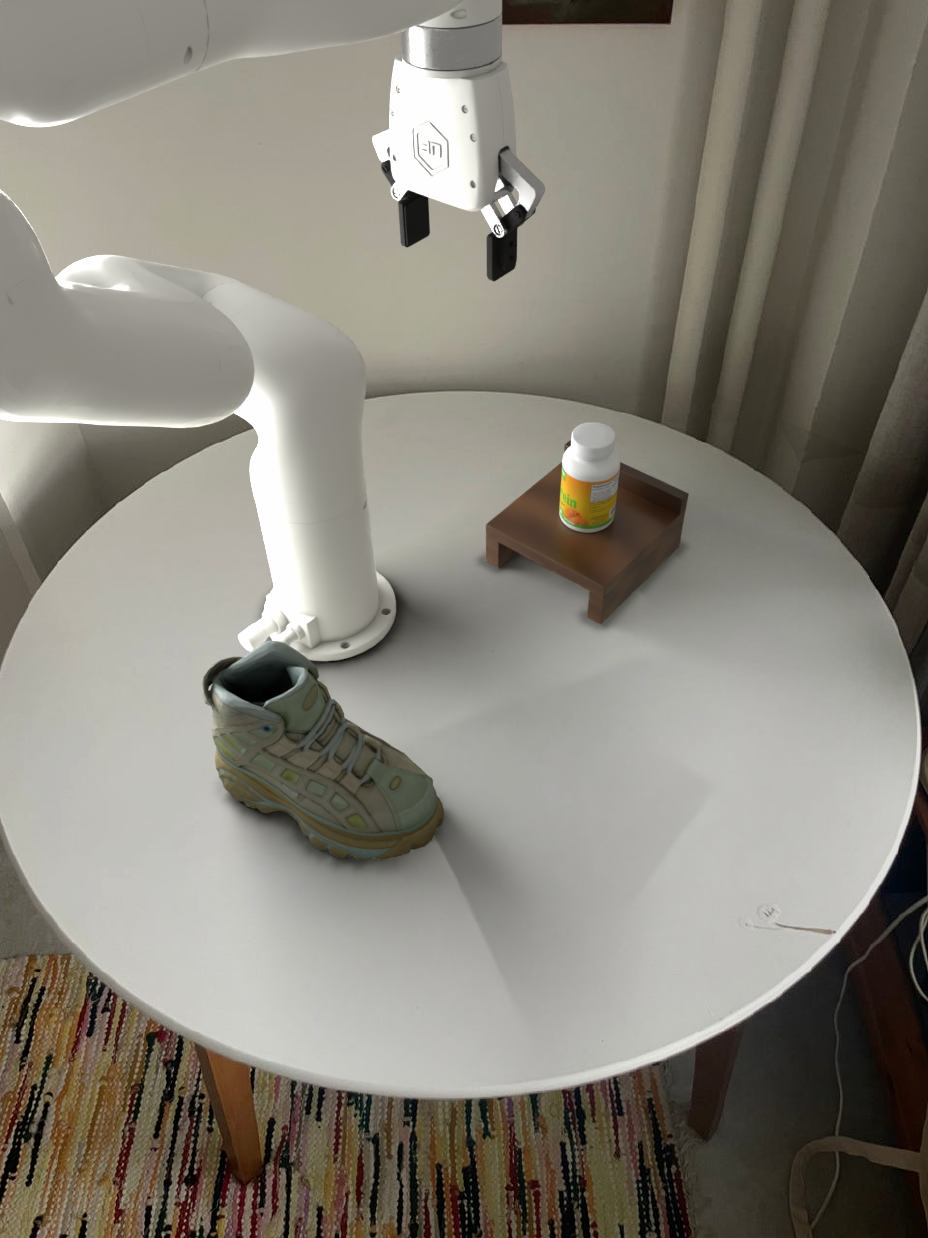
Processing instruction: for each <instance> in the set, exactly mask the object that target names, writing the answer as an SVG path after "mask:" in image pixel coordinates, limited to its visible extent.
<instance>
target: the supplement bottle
mask: <svg viewBox="0 0 928 1238" xmlns="http://www.w3.org/2000/svg"><path fill="white" fill-rule="evenodd" d="M570 437H571V438H570V440H571V446H570V447H569V448H568V449H567V450H566V451H565V453H564V452H563V455H562V461H561V462H562V477H561V492H560V507H559V514H560V518H561V520H562V522H563V523H564V524H565V525H566V526H568V527H569V528H571V529H573V530H576V531H579V532H585V533H591V532H597V531H600V530H603V529H605V528H606V527H608V526H609V525H610V524H611V522H612V521H613V519H614V514H615V507H616V498H617V489H618V480H619V471H620V462H621V457H620V454H619V453H618V452H619V451H617V450H616V449H615V447H616V433H615V430H614V429H612V428H611V427H610V426H609V425H607V424H604V423H601V422H597V421H596V422H595V421H594V422H593V421H589V422H584V423H581V424H578V425H577V426H576V427H575V428H573V430H572V432H571V436H570Z"/></svg>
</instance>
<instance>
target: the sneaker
mask: <svg viewBox="0 0 928 1238" xmlns="http://www.w3.org/2000/svg"><path fill="white" fill-rule="evenodd" d="M319 678H320V673H319V669H318V667H317V666H316V665H315V664H314V663H313V662H312V661H311V660H308V659H307V658H306V657H305V656H304V655H302V654H301V653H300V652H298V651H297V650H295V649H294V648H292V647H291V646H289V645H288V644H286V643H283V642H280V641H276V640H272V639H271V640H268V641H267V640H266V641H264V642H263V643H262V644H260V645H259V646H258V647H257V648H255V649H254V650H253V651H251V652H250V651H249V653H247V654H246V655H244V656H231V657H227V658H222V659H220V660H218V661H216V662H214V663H213V664H212V665H211V666H210V668H209V669H207V671H206V673H205V674H204V675H203V677H202V681H201V685H202V698H203V701H204V704H205V705H207V706H209V707H211V711H212V714H211V716H212V717H211V718H212V728H211V733H212V734H211V735H212V739H213V743H214V745H215V756H214V757H215V758H214V764H215V769H216V771H217V772H218V777H219V779H220V781H221V783H222V786H223V788H224V789H225V791H227V792H229V793H230V795H231V797H232V798H233V799H234V800H235V801H236V802H243V803H244V804H245V806H246V807H248V808H251V809H254V810H256V809H257V810H258V811H259V812H260V813H262V814H263V813H264V814H270V813H273V812H280V811H281V812H284V813H286V814H288V815H289V816H290V817H291V818H293V820H295V822H297V824H298V827H299V829H300V831H301V834H302V836H303V837H304V838H307V839H309V842H310V844H311V846H312V847H313V848H315V849H317V850H319V851H320V852H322V851H328V852H329V854H331V856H333V857H336V858H339V859H348V858H349V857H350V856H351V857H353V858H354V859H355V860H356V862H367V861H370V860H374V859H375V860H378V861H385V860H390V859H394V858H398V857H399V858H400V857H402V856H405V855H408V854H409V853H410V852H411V850H417V849H421V848H424V847H425V846H427V845H429V843H430V842H432V841H433V839H435V836H436V835H437V832H438V829H439V828H440V827H441V826H442V824H443V823H444V822H443V821H444V819H445V818H444V817H445V808H444V805H443V802H442V800H441V798H440V797H439V796H438V794H437V791H436V789H435V786H434V779H433V778H432V777H431V775H428V774H427V773H426V772H425V771H424V770H423V769H422V768H421V767H420V766H419V765H418V764H416V762H414V761H413V760H412V759H411V758H410V757H409V756H408V755H407V754H406V753H405V752H403V750H402V751H401V750H400V749H398V748H396V747H394V746H392V745H391V744H390V743H388V742H387V741H385V740H384V739H382V738H381V737H378V736H376V735H374V734H372V733H370V732H368V731H367V730H365V729H363V728H362V727H361V726H359V725H357V724H356V723H354V722H352V720H349V719H348V718H346V717H345V712H344V710H343V707H342V706H341V705H340V703H339V702H338V701H337V700H336V699H335V698H332V696H331V694H330V691H329V689H328V687H327V685H325V683H323V681H321V680H319ZM209 688H210V689H209Z"/></svg>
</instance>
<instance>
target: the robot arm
mask: <svg viewBox="0 0 928 1238" xmlns="http://www.w3.org/2000/svg"><path fill="white" fill-rule="evenodd" d="M399 33H400V43H401V44H400V45H401V51H400V52H398V53H397V54H395V56H394V62H393V66H392V73H391V81H390V82H391V83H390V90H389V91H390V92H389V115H388V116H389V119H388V121H389V122H388V123H389V124H388V126H389V128H388V129H385V130H383V131H381V132H378V133H377V134H374V135H373V136H372V138H371V139H372V145H373V148H374V149H375V152H376V154H377V157H378V159H379V161H381V163H380V169H381V172H382V173H383V175H384V177H385V178H386V180H387V181H388V183H389V184H390V186H391V187H390V194H391V196H392V199H394V200H395V201H398V202H397V207H398V223H399V236H400V245H401V246H402V247H405V248H410V247H412V246H414V245H415V244H417V243H418V242H419V243H420V242H421V241H423V240H424V239H427V238H428V237H429V236H430V234H431V228H430V227H431V226H430V225H431V224H430V223H431V222H430V205H429V204H430V203H429V202H430V201H429V199H432V200H434V201H438V202H440V203H443V204H446V205H449V206H452V207H454V208H457V209H461V210H464V211H467V212H472V213H473V212H480V211H481V213H482V215H483V216H484V219H485V220H486V222H487V224H488V225H489V227H490V229H491V231H492V232H490V233H489V234H487V236H486V277H487V279H488V281H491V282H497V281H498V280H499V279H501V278H503V277H505V276H506V275H508V274H509V273H511V272H512V271H514V270H515V269H516V266H517V261H518V228H519V227H521V226H523V225H524V224H525V222H526V221H528V220H529V219H530V218H532V216H533V215H535V214H536V212H537V207H538V206H539V204H540V202H541V201H542V198H543V196H544V195H545V192H546V186H545V184H544V183H543V182H542V181H541V180H540V179H539V178H538V177H537V176H536V175H535V174H534V173H533V172H532V171H531V170H530V169H529V168H528V167H527V166H526V165H525V163H523V162H522V161H521V160H520V159H519V158H518V157H517V135H516V117H515V108H514V98H513V91H512V83H511V79H510V78H511V77H510V73H509V68H508V64H507V62H505V61H504V60H503V0H0V120H1V121H3V122H7V123H11V124H14V125H19V126H24V127H29V128H30V127H31V128H32V127H33V128H45V127H46V128H47V127H54V126H59V125H63V124H67V123H69V122H70V123H71V122H73V121H75V120H78V119H81V118H84V117H86V116H89V115H92V114H94V113H96V112H98V111H101V110H104V109H105V108H109V107H111V106H114V105H116V104H119V103H121V102H125V101H127V100H130V99H132V98H135V97H136V96H139V95H140V94H143V93H146V92H149V91H151V90H155V89H157V88H159V87H162V86H164V85H167V84H169V83H172V82H174V81H176V80H179V79H181V78H185V77H187V76H191V75H193V74H196V73H199V72H201V71H203V70H206V69H209V68H211V67H214V66H217V65H220V64H222V63H226V62H230V61H233V60H238V59H249V58H250V59H251V58H252V59H253V58H263V57H264V58H265V57H273V56H282V55H288V54H294V53H299V52H307V51H313V50H318V49H326V48H333V47H340V46H347V45H353V44H359V43H365V42H369V41H374V40H379V39H384V38H387V37H391V36H394V35H397V34H399ZM514 189H515V190H516V191H517V193H518V199H517V200H516V198H515V196H514V195H513V193H512V192H514ZM496 202H498V203H499V204H500V207H501V208H502V210H503V212H504V215H502V213H501V212H500V210H499V208H498V207H497V205H496ZM366 392H367V367H366V364H365V360H364V358H363V355H362V353H361V351H360V349H359V347H358V346H357V345H356V343H355V342H354V341H353V340H352V339H351V337H349V336H348V335H347V334H346V333H345V332H344V331H343V330H341V329H340V328H339V327H338V326H336V325H334V324H333V323H331V322H330V321H328V320H326V319H324V318H323V317H320V316H319V315H317V314H316V313H313V312H311V311H309V310H306V309H303V308H301V307H299V306H297V305H296V304H293V303H291V302H288V300H287V301H286V300H284V299H281V298H278V297H276V296H274V295H271V294H270V293H267V292H265V291H263V290H260V289H259V288H256V287H254V286H252V285H249V284H248V283H244V282H242V281H240V280H238V279H235V278H233V277H230V276H227V275H223V274H219V273H215V272H211V271H205V270H199V269H194V268H188V267H183V266H177V265H172V264H167V263H162V262H156V261H150V260H146V259H139V258H134V257H130V256H129V257H128V256H124V255H115V254H114V255H113V254H102V255H101V254H99V255H93V256H89V257H85V258H82V259H80V260H78V261H75V262H73V263H72V264H70V265H68V266H67V267H66V268H64V269H63V270H61V272H59V274H57V276H55V275H54V272H53V269H52V268H51V265H50V262H49V260H48V257H47V254H46V252H45V251H44V248H43V245H42V244H41V241H40V239H39V237H38V235H37V233H36V232H35V230H34V228H33V226H32V225H31V223H30V222H29V220H28V219H27V217H26V216H25V214H24V213H23V212H22V211H21V209H20V207H18V205H17V204H16V203H15V202H14V201H13V200H12V199H11V197H9V195H8V194H6V193H5V192H4V191H3V190H1V189H0V420H2V421H10V422H19V423H20V422H22V423H68V424H69V423H71V424H74V423H75V424H87V425H98V426H123V427H124V426H125V427H152V428H153V427H156V428H173V429H187V428H199V427H204V426H207V425H212V424H215V423H218V422H220V421H223V420H225V419H227V418H228V417H230V416H231V415H233V414H235V415H237V416H239V417H240V418H242V419H244V420H245V421H246V422H248V424H250V425H251V426H252V427H253V428H254V431H256V434H257V436H258V443H257V446H256V448H255V450H254V451H253V453H252V455H251V458H250V462H249V478H250V484H251V489H252V494H253V499H254V501H255V505H256V509H257V514H258V519H259V523H260V528H261V529H260V530H261V532H262V537H263V542H264V546H265V551H266V556H267V561H268V565H269V570H270V574H271V579H272V583H273V588H272V589H271V591H270V593H268V594H267V595H265V598H266V601H265V603H264V607H263V608H264V609H263V612H262V613H261V618H260V619H259V620H257V621H256V622H255V623H252V624H251V625H249V626H247V628H245V629H244V630H242V631H241V632H240V633H238V635H237V638H238V641H239V643H240V645H241V646H242V647H243V648H244V649H245V650H246V651H248V652H249V653H250V652H251V651H253V650H254V649H256V648H257V647H259V646H260V645H261V644H263V643H265V642H267V639H268V638H271V640H276V641H280V642H283V643H286V644H288V645H289V646H291V647H292V648H294V649H295V650H297V651H298V652H300V653H301V654H302V655H304V656H305V657H306V658H307V659H308V660H309V661H315V662H329V661H330V662H331V661H340V660H344V659H349V658H352V657H355V656H357V655H360V654H363V653H364V652H366V651H368V650H369V649H372V648H373V647H374V646H376V645H377V644H378V643H380V642H381V641H382V640H383V639H384V638H385V636H386V635H387V634H388V633H389V632H390V630H391V628H392V626H393V624H394V622H395V619H396V616H397V600H396V594H395V591H394V589H393V587H392V585H391V583H390V582H389V581H388V580H387V578H386V577H385V576H383V575H382V574H381V573H379V572H378V571H377V567H376V559H375V551H374V550H375V549H374V541H373V533H372V525H371V516H370V515H371V514H370V507H369V499H368V490H367V489H368V488H367V481H366V480H367V479H366V475H365V473H366V472H365V463H364V455H363V417H364V408H365V400H366V394H367V393H366Z"/></svg>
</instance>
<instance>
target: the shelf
mask: <svg viewBox="0 0 928 1238" xmlns="http://www.w3.org/2000/svg"><path fill="white" fill-rule="evenodd" d="M570 446H571V439H569V440H568V441H567V442H566V443H564V448H563V454H564V453H565V451H566V450H567V449H568V448H569V447H570ZM561 477H562V461H561V462H560V463H559V464H557V465H556V466H555V467H554V468H552V470H550V471H548V472H547V473H546V474H545V475H544V476H543V477H541V479H539V480H537V482H536V483H534V484H532V486H531V487H529V488H528V489H527V490H526V491H525V492H523V493H522V494H521V495H519V496H518V497H517V498H515V500H514V501H512V502H511V503H510V504H509V505H507V506H506V507H505V508H504V509H503V510H501V511H500V512H499V513H497V514H496V515H495V516H494V517H493V518H491V519H490V520H489V521H488V522H487V523H486V524H485V562H486V563H488V564H490V565H492V566H494V567H495V568H497V569H499V568H500V567H502V565H504V564H505V563H506V562H507V561H509V560H510V559H511V558H512V557H513V556H514V555H516V553H518V554H519V555H521V556H524V557H525V558H527V559H529V560H530V561H532V562H535V563H536V564H538V565H540V566H542V567H544V568H546V569H547V570H549V571H551V572H553V573H555V574H557V575H559V576H560V577H562V578H564V579H566V580H568V581H570V582H572V583H573V584H575V585H577V586H578V587H581V588H583V589H585V590H587V591H588V592H589V594H588V604H587V613H586V614H587V615H586V617H587V618H588V619H589V620H592V621H593V622H595V623H597V624H599V625H602V624H603V623H604V622H605V621H606V620H607V619H608V618H609V617H610V616H611V615H612V614H614V612H615V611H616V610H617V609H618V608H619V607H620V606H621V605H622V604H623V603H624V602H625V601H626V600H627V599H628V598H629V597H630V596H631V595H633V593H634V592H635V591H636V590H637V589H638V588H639V587H640V586H641V585H642V584H644V582H645V581H646V580H648V578H649V577H650V576H651V575H652V574H653V573H654V572H655V571H657V569H659V568H660V567H661V565H662V564H663V563H665V561H667V559H669V558H670V557H671V555H673V554H674V552H676V550H677V549H679V547H680V544H681V538H682V533H683V527H684V521H685V516H686V509H687V506H688V499H689V492H687V491H685V490H682V489H680V488H677V486H674V485H672V484H669V483H667V482H665V481H663V480H661V479H658V478H656V477H654V476H652V475H650V474H648V473H646V472H643V471H641V470H639V469H637V468H635V467H632V466H631V465H628V464H626V463H623V462H622V461H620V471H619V480H618V489H617V498H616V507H615V514H614V519H613V521H612V522H611V524H610V525H609V526H608V527H606V528H605V529H603V530H600V531H597V532H591V533H585V532H579V531H576V530H573V529H571V528H569V527H568V526H566V525H565V524H564V523H563V522H562V520H561V518H560V514H559V507H560V492H561Z"/></svg>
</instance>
